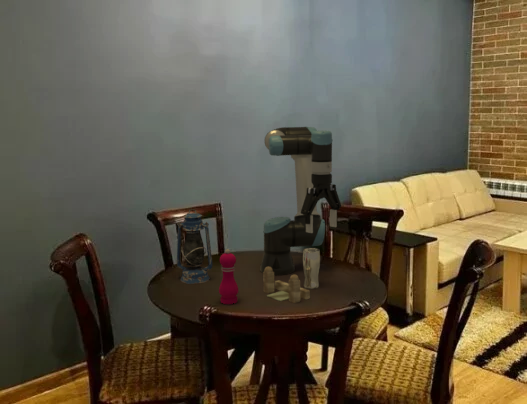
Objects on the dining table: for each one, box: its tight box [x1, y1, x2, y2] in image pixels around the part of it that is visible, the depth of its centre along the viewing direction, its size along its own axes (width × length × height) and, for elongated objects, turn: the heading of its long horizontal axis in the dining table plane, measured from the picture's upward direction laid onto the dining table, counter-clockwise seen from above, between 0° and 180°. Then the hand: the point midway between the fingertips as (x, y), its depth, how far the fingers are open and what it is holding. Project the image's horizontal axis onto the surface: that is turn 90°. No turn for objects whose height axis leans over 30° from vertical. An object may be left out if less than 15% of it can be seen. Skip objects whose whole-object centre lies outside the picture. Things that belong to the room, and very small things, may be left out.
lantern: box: [176, 208, 213, 285], centre depth 229 cm, size 15×12×30 cm
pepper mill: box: [218, 248, 240, 305], centre depth 202 cm, size 7×7×20 cm
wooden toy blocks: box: [262, 266, 311, 304], centre depth 208 cm, size 18×10×10 cm, turn 40°
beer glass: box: [301, 247, 321, 290], centre depth 219 cm, size 7×7×15 cm
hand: (321, 229), depth 206 cm, fingers open, 13 cm apart
